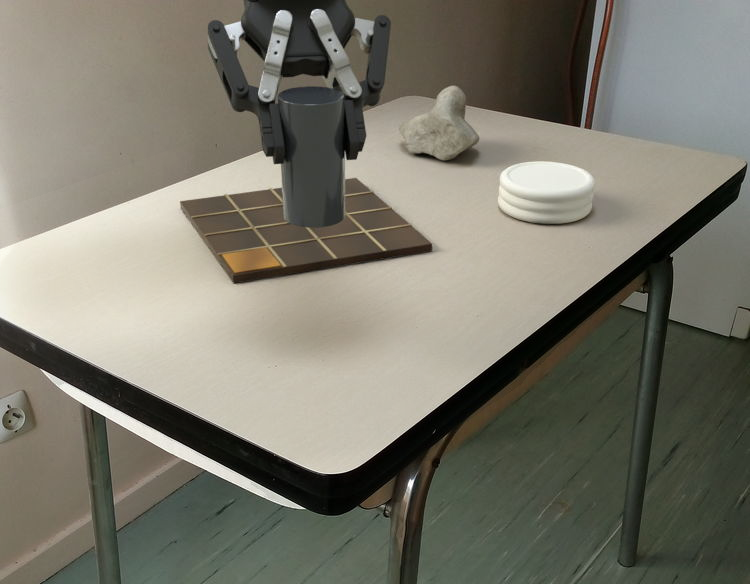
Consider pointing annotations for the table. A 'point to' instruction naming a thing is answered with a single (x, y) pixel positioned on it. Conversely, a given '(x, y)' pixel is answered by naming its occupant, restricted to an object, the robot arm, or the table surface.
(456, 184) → the table surface
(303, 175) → the glossy charcoal cylinder
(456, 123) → the stone
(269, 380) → the table surface
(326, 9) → the robot arm
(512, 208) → the white ribbed disc
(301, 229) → the board
